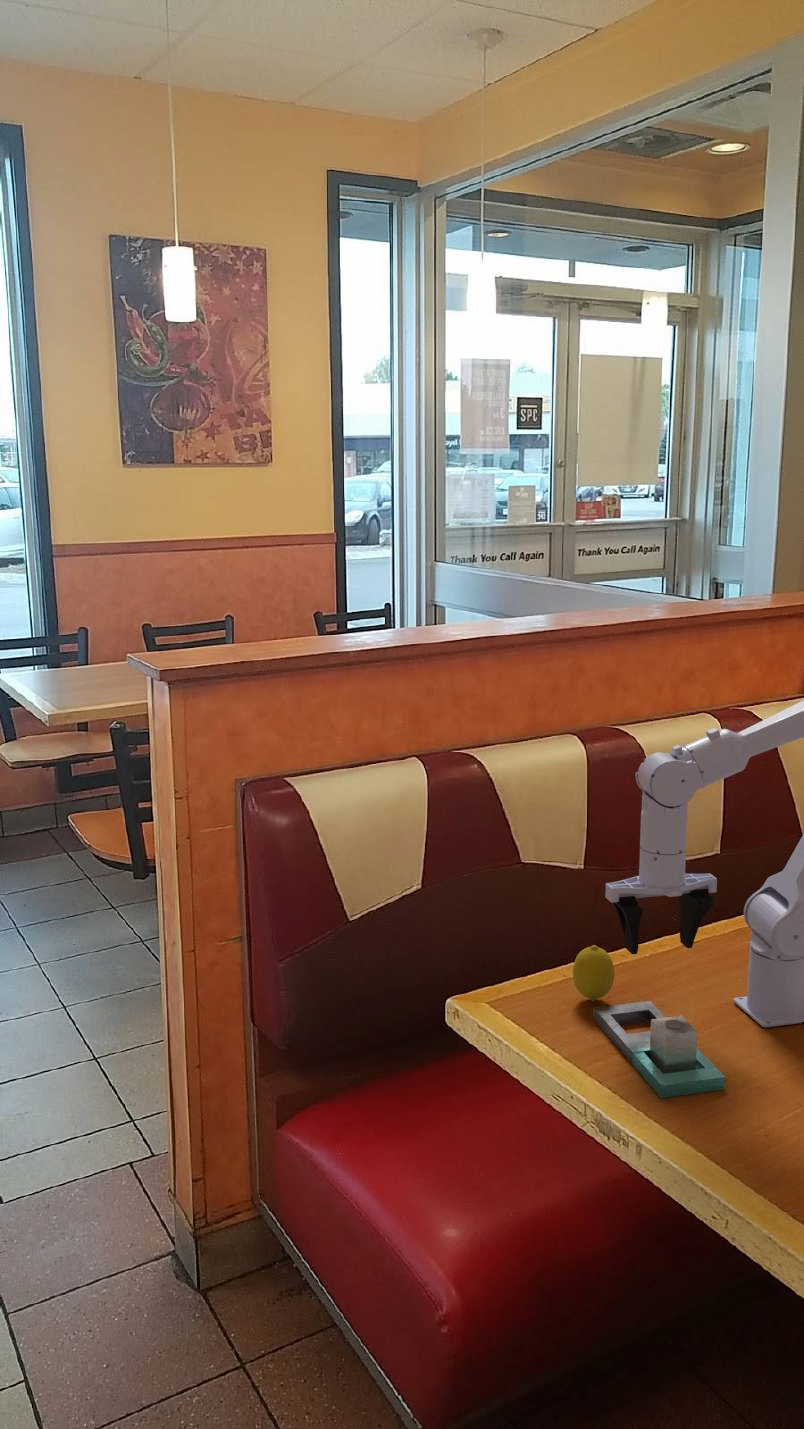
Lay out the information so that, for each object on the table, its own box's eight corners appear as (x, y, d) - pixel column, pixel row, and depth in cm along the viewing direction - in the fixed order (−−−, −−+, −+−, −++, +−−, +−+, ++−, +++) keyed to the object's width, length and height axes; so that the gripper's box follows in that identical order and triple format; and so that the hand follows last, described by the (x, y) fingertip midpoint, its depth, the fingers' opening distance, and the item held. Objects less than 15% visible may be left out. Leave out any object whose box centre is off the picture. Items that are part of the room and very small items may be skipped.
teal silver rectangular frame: (649, 1012, 150) (650, 1000, 150) (724, 1089, 131) (725, 1075, 130) (593, 1018, 148) (593, 1007, 148) (661, 1098, 129) (661, 1084, 129)
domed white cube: (679, 1061, 137) (681, 1013, 136) (695, 1077, 134) (697, 1029, 132) (649, 1065, 136) (651, 1017, 135) (664, 1082, 133) (666, 1033, 131)
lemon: (613, 1011, 150) (614, 955, 149) (571, 1008, 151) (572, 952, 150) (614, 993, 155) (615, 938, 154) (573, 990, 157) (574, 936, 155)
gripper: (622, 862, 138) (619, 966, 141) (730, 852, 141) (725, 954, 144) (600, 845, 145) (597, 944, 147) (703, 836, 148) (699, 933, 150)
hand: (659, 948), depth 146 cm, fingers open, 7 cm apart
